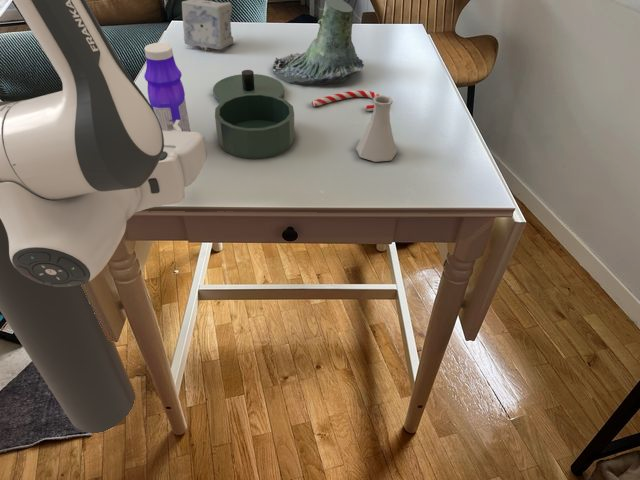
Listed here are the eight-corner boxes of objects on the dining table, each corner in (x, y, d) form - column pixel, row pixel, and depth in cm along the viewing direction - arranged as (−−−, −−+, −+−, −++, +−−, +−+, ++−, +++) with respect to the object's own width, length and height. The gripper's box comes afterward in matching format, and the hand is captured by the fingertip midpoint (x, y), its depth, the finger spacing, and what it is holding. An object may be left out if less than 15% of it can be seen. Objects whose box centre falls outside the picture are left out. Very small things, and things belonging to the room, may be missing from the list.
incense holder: (235, 42, 122) (232, -2, 115) (221, 54, 116) (217, 8, 109) (199, 37, 124) (194, -7, 117) (184, 48, 118) (177, 3, 111)
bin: (217, 160, 82) (213, 131, 79) (219, 121, 92) (216, 94, 89) (296, 157, 84) (297, 129, 80) (290, 119, 94) (290, 92, 90)
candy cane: (308, 93, 99) (377, 87, 103) (308, 99, 100) (376, 93, 103) (317, 111, 94) (390, 104, 97) (317, 117, 95) (389, 110, 98)
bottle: (160, 137, 87) (140, 38, 76) (193, 135, 88) (177, 37, 76) (158, 159, 82) (135, 57, 70) (192, 157, 83) (176, 55, 71)
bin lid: (212, 111, 95) (209, 88, 92) (214, 79, 106) (212, 58, 103) (286, 109, 97) (286, 87, 94) (281, 78, 107) (281, 57, 104)
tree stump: (289, 51, 120) (308, -26, 108) (362, 83, 119) (390, 10, 107) (258, 76, 106) (276, -8, 94) (341, 113, 105) (370, 32, 93)
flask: (354, 160, 84) (359, 107, 77) (357, 139, 89) (362, 87, 82) (396, 165, 83) (404, 111, 77) (396, 143, 89) (405, 91, 82)
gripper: (32, 195, 61) (77, 138, 71) (195, 202, 61) (216, 145, 71) (13, 151, 57) (63, 98, 67) (187, 160, 57) (211, 105, 67)
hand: (143, 122), depth 69 cm, fingers open, 8 cm apart
